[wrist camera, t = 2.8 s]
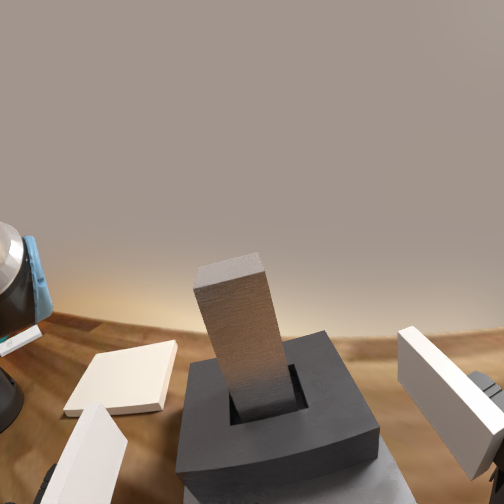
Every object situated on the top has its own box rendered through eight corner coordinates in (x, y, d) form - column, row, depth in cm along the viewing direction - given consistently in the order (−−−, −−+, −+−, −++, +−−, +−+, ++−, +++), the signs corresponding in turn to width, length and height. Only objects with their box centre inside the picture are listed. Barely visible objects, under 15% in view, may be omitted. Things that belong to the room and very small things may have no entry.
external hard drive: (43, 338, 58) (2, 359, 50) (39, 329, 64) (1, 348, 56) (40, 331, 58) (-1, 353, 50) (36, 324, 64) (-1, 343, 55)
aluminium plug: (252, 446, 22) (192, 288, 18) (248, 412, 27) (198, 266, 23) (303, 434, 23) (264, 270, 19) (294, 402, 27) (257, 251, 23)
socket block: (185, 564, 12) (152, 543, 11) (196, 399, 32) (181, 365, 30) (417, 514, 12) (431, 484, 11) (338, 364, 32) (333, 327, 30)
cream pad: (67, 416, 30) (63, 410, 30) (99, 360, 44) (96, 354, 44) (162, 410, 31) (158, 402, 30) (177, 346, 44) (174, 339, 44)
